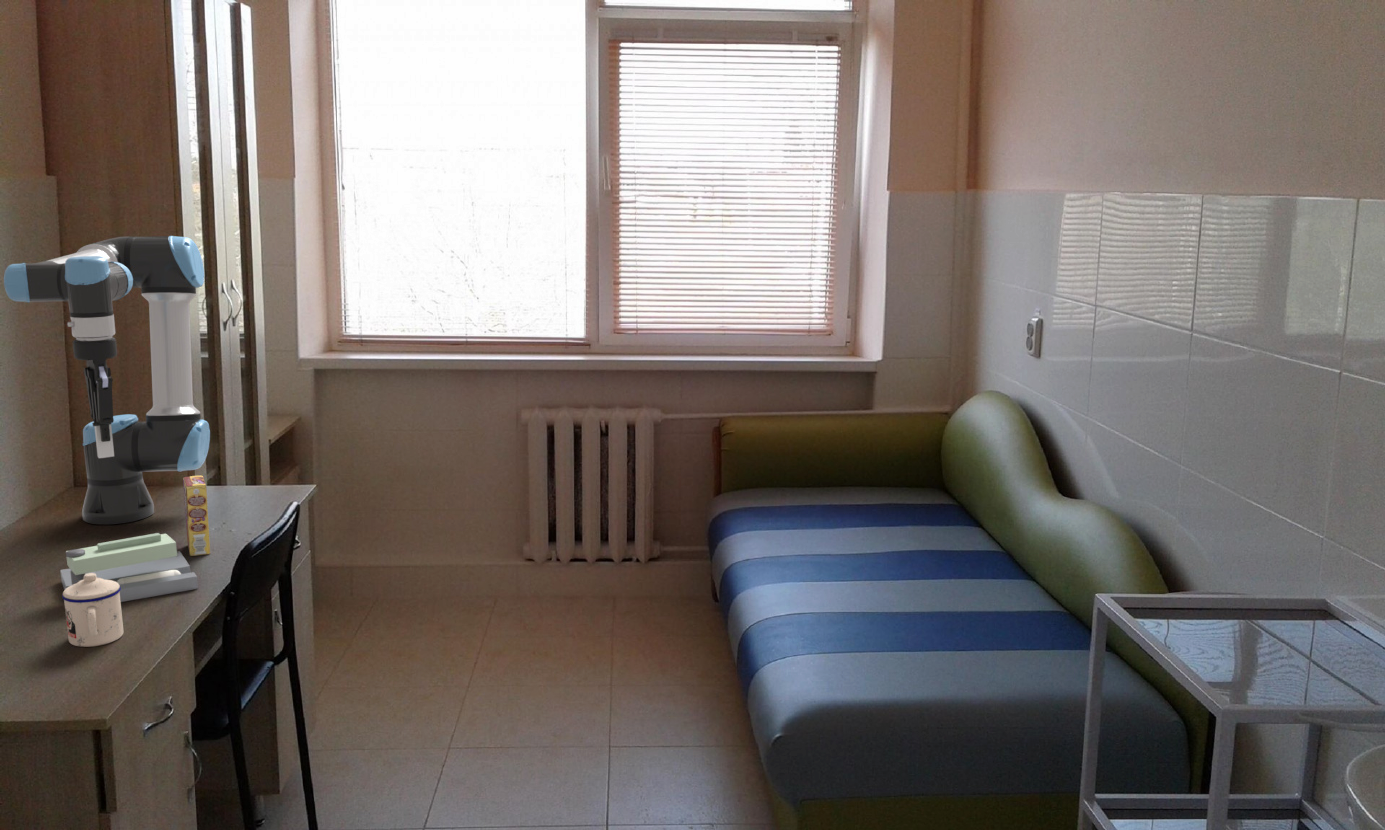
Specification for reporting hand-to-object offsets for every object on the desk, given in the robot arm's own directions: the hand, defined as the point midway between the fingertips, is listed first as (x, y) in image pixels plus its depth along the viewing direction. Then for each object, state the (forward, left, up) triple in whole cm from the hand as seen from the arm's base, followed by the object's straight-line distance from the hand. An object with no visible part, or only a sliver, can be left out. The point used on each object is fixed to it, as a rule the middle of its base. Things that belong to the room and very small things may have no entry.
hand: (106, 456), depth 236 cm
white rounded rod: (+13, +4, -23) cm, 26 cm away
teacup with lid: (+35, -8, -25) cm, 44 cm away
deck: (+8, +1, -24) cm, 26 cm away
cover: (+11, 0, -18) cm, 21 cm away
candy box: (-8, +17, -25) cm, 31 cm away
